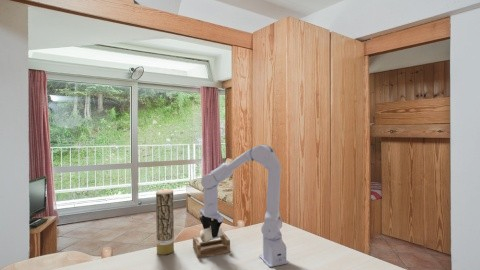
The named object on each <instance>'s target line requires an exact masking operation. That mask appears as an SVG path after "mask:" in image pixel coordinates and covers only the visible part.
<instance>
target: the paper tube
mask: <svg viewBox="0 0 480 270" xmlns="http://www.w3.org/2000/svg"><path fill="white" fill-rule="evenodd" d="M155 192H156V193H155V201H156V202H155V204H156V206H155V207H156V208H155V209H156V210H155V215H156V218H155V219H156V220H155V222H156V224H155V225H156V226H155V227H156V252H157V253H156V254H158V255H161V256H163V255H169V254H171V253H173V252H174V248H175V245H174V244H175V243H174V242H175V241H174V239H175V238H174V236H175V235H174V233H175V230H174V227H175V226H174V217H175V216H174V190H173V189H168V188H167V189H166V188H165V189H160V190H156V191H155Z"/></svg>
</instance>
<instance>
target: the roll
mask: <svg viewBox="0 0 480 270" xmlns="http://www.w3.org/2000/svg"><path fill="white" fill-rule="evenodd" d="M223 232H224V231H223V228H222V226H220V228H219V232H218V236H217V237H215V238H213V237H212V231H211V226H210V228H206V229H204V228H202V229H201V230H200V232H199V238H200V240H201V242H207V241H213V240H218V239H220V237H222V234H223Z"/></svg>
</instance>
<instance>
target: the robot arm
mask: <svg viewBox="0 0 480 270" xmlns="http://www.w3.org/2000/svg"><path fill="white" fill-rule="evenodd" d="M254 161H255V162H256V163H258V164H260V165H262V166H263V167H264V168H265V169H266V170H267V186H266V187H267V188H266V189H267V191H266V205H265V206H266V208H265V209H266V211H265V215H264V218H263V220H264V221H263V224H262V226H261V229H260V230H261V234H262V253H260V254H258V255H259V258H260V259H261V260H262V261H263V262H264V263H265V264H266V265H267V266H268V267H270V268H273V267H277V266H281V265H287V264H289V261H288V260H287V245H286V244H285V242H284V241H283V234H282V232H281V228H282V227H283V221H282V219H281V211H280V203H281V202H280V200H281V199H280V198H281V181H282V180H281V179H282V178H281V176H282V175H281V174H282V164H281V162H280V160H279V158H278V156H277V154H276V153H275V150H274V148H272V147H271V146H269V145H268V144H261V145H255V146H254V147H253V148H250V149H248V150H245V151H244V152H243V153H241V154H240V155H238V157H236V158H235V159H233V160H232V161H231V162H229V163H220V164H218V167H217V168H215V169H214V170H213V169H212V170H210V171H209V172H210V173H207V174H205V175H203V176H202V178H201V180H200V183H201V185H202V187H203V209H199V211H198V212H199V215H201V216H199V221H200V223H201V224H202V229H206V228H210V227H211V231H212V237H213V238H215V237H217V236H218V232H219V228H220V227H222V224H223V222H224V216H223V215H221V214H220V211H219V210H218V209H219V208H218V207H219V206H218V201H219V200H218V186H219V184H220V183H222V182H223V181H225V180H226V179H228V178H230V177H231V176H232V175H233V171H235V170H236V169H238V168H239V167H241V166H242V165H244V164H245V163H247V162H254Z"/></svg>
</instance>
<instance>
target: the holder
mask: <svg viewBox="0 0 480 270" xmlns="http://www.w3.org/2000/svg"><path fill="white" fill-rule="evenodd" d="M192 249H193V251H194V254H195V255H196V258H197V259H200V258H205V257H211V256H217V255H223V254H228V253H229V254H230V252H231V239H230V238H229V237H228V236H227V235H226V233H225V232H224V231H223V234H222V237H220V238H218V239H214V240H210V241H207V242H202V241H199V239H198V237H197V235H193V236H192Z"/></svg>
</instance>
